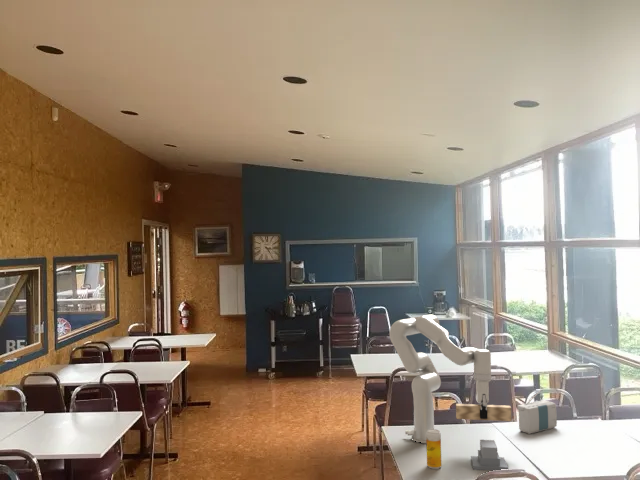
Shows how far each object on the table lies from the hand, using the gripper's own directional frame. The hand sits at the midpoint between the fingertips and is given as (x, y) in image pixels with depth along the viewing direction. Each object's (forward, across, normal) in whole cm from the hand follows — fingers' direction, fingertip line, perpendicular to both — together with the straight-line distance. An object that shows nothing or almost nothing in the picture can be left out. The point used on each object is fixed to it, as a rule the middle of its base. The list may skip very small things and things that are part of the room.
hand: (483, 416), depth 255 cm
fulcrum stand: (+16, +16, 0) cm, 23 cm away
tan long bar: (+1, 0, 0) cm, 1 cm away
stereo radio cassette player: (+16, -38, +30) cm, 51 cm away
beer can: (+16, +21, -22) cm, 35 cm away
